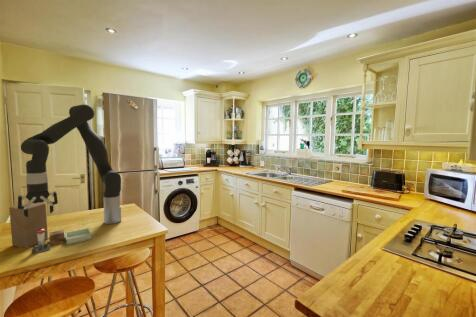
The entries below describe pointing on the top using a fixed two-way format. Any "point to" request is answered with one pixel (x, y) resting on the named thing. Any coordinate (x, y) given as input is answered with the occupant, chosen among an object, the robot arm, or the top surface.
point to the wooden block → (27, 224)
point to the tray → (78, 236)
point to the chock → (56, 237)
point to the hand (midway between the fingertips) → (39, 214)
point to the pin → (41, 238)
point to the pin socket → (41, 249)
